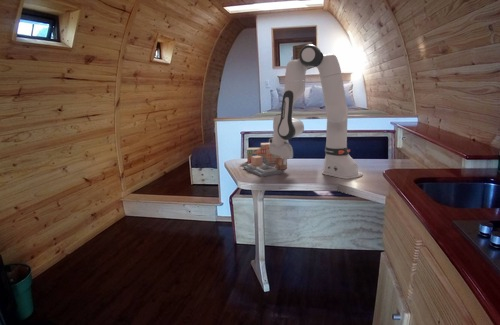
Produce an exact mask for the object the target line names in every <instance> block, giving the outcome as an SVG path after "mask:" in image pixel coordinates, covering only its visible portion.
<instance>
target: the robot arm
mask: <svg viewBox="0 0 500 325" xmlns="http://www.w3.org/2000/svg"><path fill="white" fill-rule="evenodd" d="M312 68H313V69H314V68H316V69H317V70H318V73H319V78H320V83H321V89H322V94H323V101H324V103H323V104H324V109H325V114H326V131H325V133H326V134H325V136H326V137H325V138H326V140H325V141H326V142H325V146H324V147H325V148H324V153H325V157H324V161H323V167H322V172H321V174H323V175H326V176H330V177H335V178H339V179H343V180H345V179H348V180H349V179H357V178H360V177H362V176H363V175H364V174H363V172H360V171H359V164H358V163H357V162H356V161H355V159H353V157H351V155H350V152H351V150H350V149H349V148H348V142H347V141H348V119H349V117H348V116H349V108H348V104H347V98H346V97H347V96H346V91H345V86H344V80H343V75H342V69H341V65H340V62H339V60H338V57H337V55H335V54H334V53H327V54H324V53H323V52H321V50H320V48H319V47H318V46H316V45H314V44H312V43H311V44H305V45H304V46H302V47H301V49H300V50H299V53H298V58H297V59H292V60H289V62H287V64H286V67H285V75H284V91H283V96H282V101H281V110H280V113H278V114H277V113H276V115H274V116H273V121H272V122H273V124H272V130H273V136H272V138H269V139H268V143H270V144H269V151H270V154H273V155H275V158H279V157H283V159H284V160H283V162H282V164H283V165H286V161H287V162H288V160H291V159H293V158H294V150H293V147H292V146H293V145H291V144H292V143H290V142H289V140H291V139H292V138H295V137H297V136H300V135H302V134H303V132H304V130H305V125H304V123H303V121H302V120H300V119H298V118H294V117H293V113H294V105H295V103H296V102H297V100H298V99H300V97H302V96H303V94H304V93H305V88H306V73H307V70H310V69H312Z"/></svg>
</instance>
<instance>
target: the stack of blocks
mask: <svg viewBox="0 0 500 325" xmlns="http://www.w3.org/2000/svg"><path fill="white" fill-rule="evenodd" d="M269 144H270V143H269V142H260V147H247V149H246V153H247V154H246V155H247V156H246V157H247V158H246V159H247V164H251V157H252V156H261V157H263V164H273V163H274V164H275V155H273V154H270V151H269Z"/></svg>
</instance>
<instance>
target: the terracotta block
mask: <svg viewBox="0 0 500 325" xmlns="http://www.w3.org/2000/svg"><path fill="white" fill-rule="evenodd" d="M283 160H284V159H283V157H279V158H275V163H274V164H275V165H274V166H275V167H274V168H277V169H279V170H285V169H287V168H288V160H287V161H286V165H283V164H282V162H283Z"/></svg>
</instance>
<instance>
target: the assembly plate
mask: <svg viewBox="0 0 500 325" xmlns="http://www.w3.org/2000/svg"><path fill="white" fill-rule="evenodd" d="M243 168H244V170H245V169H246V171H248V172H250V173H252V174H254V175H257V176H259V177H262V178H264V177H268V176H274V175H279V174H282V169H278V168H275V167H274V166H271V165H269V164H267V163H263V157H261V156H252V157H251V163H247V165H244V166H243Z"/></svg>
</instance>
